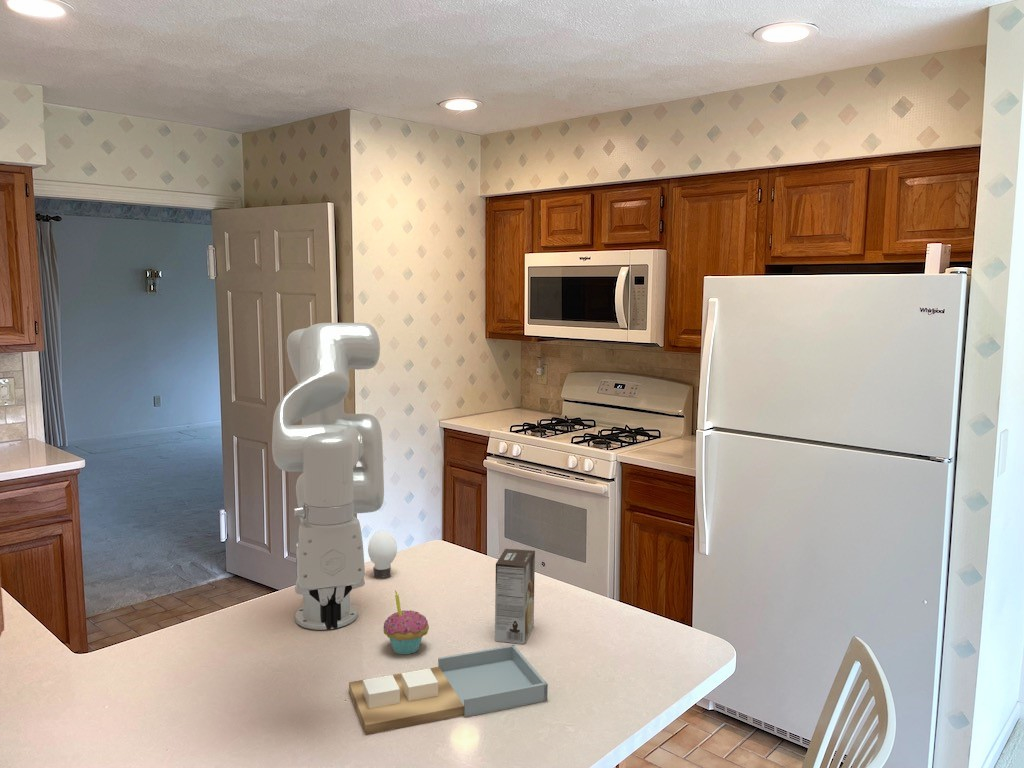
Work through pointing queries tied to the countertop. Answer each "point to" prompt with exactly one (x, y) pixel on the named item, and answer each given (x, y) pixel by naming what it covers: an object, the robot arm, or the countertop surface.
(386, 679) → the tile
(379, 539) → the light bulb
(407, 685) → the tile
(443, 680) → the board
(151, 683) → the countertop surface
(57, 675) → the countertop surface
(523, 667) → the tray
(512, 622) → the coffee box
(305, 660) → the countertop surface
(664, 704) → the countertop surface
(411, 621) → the cupcake
